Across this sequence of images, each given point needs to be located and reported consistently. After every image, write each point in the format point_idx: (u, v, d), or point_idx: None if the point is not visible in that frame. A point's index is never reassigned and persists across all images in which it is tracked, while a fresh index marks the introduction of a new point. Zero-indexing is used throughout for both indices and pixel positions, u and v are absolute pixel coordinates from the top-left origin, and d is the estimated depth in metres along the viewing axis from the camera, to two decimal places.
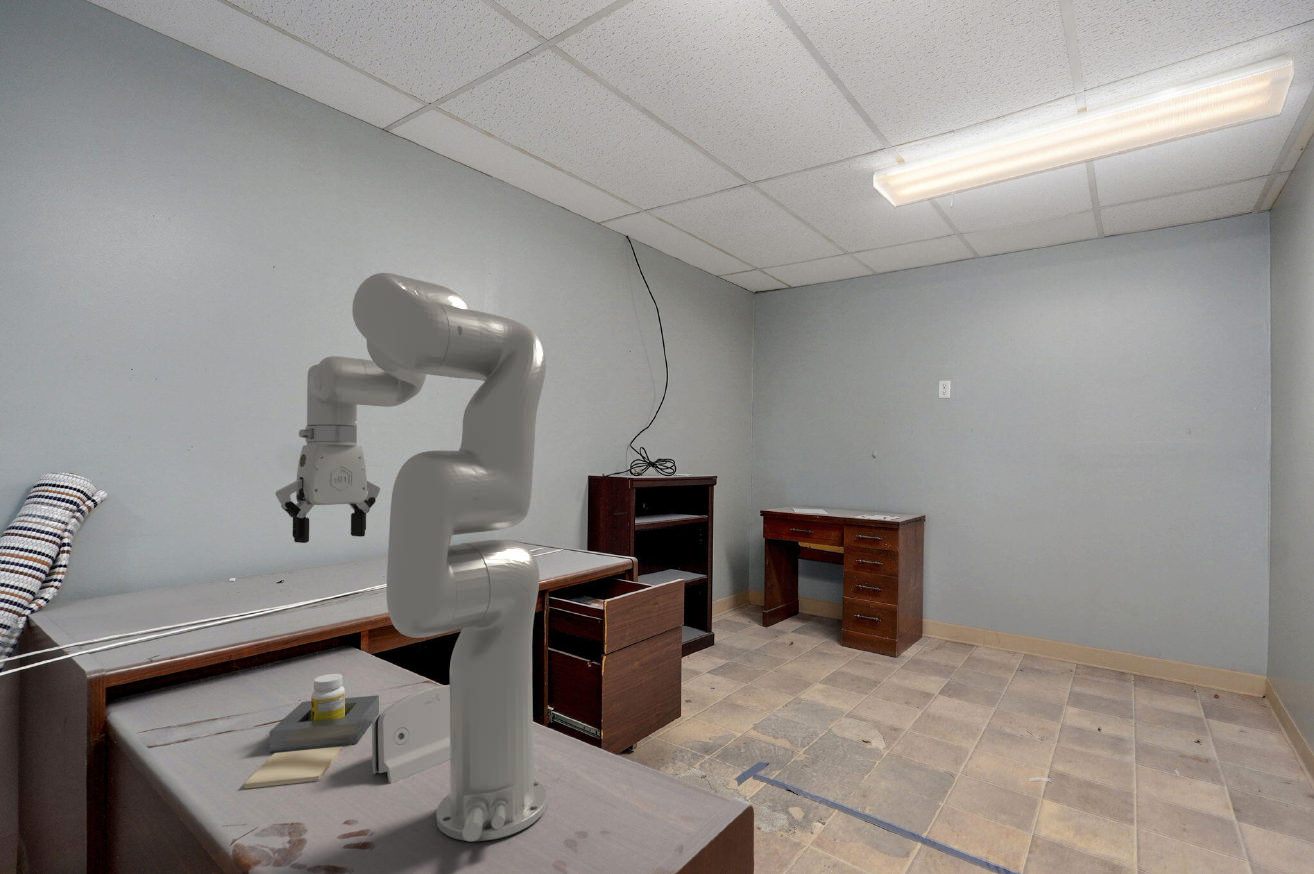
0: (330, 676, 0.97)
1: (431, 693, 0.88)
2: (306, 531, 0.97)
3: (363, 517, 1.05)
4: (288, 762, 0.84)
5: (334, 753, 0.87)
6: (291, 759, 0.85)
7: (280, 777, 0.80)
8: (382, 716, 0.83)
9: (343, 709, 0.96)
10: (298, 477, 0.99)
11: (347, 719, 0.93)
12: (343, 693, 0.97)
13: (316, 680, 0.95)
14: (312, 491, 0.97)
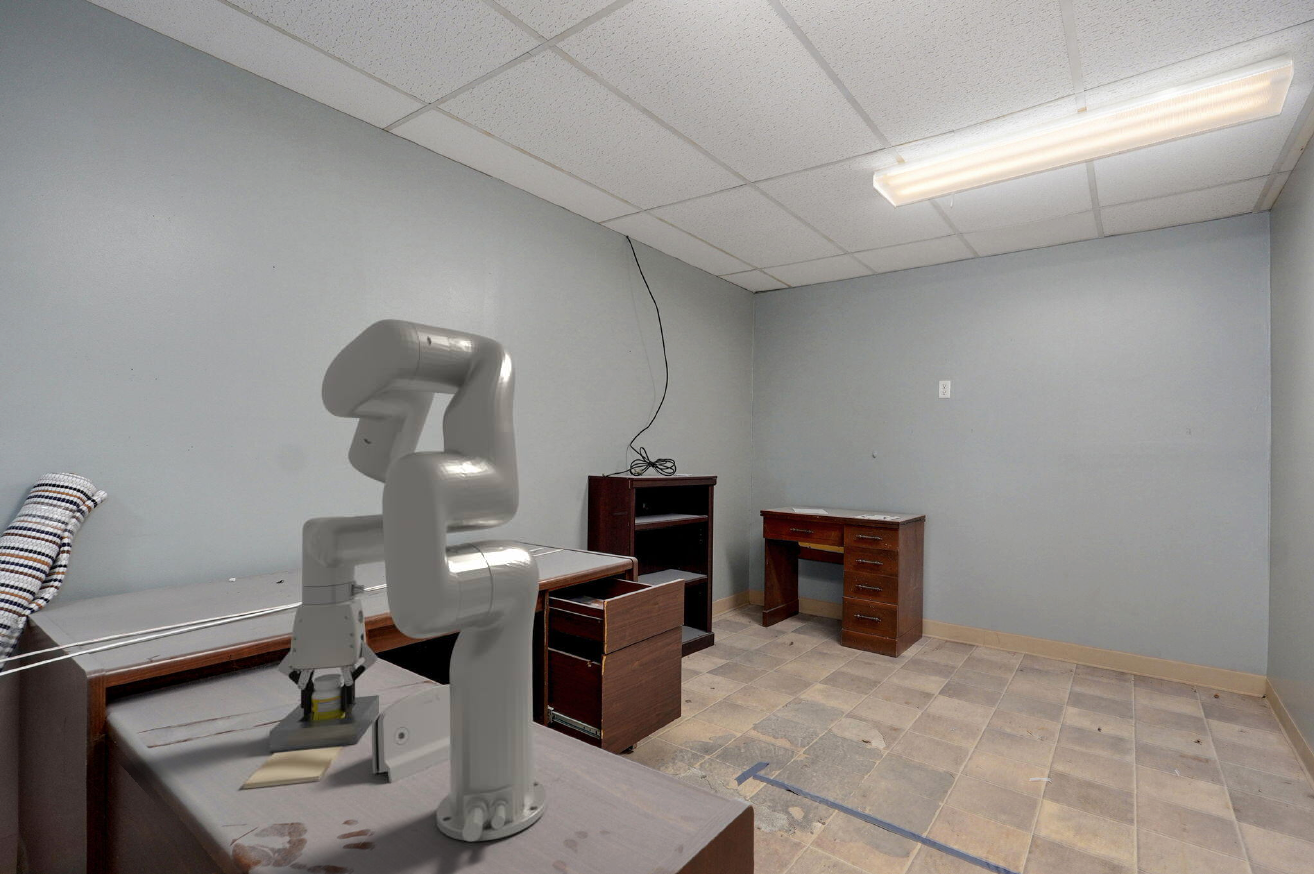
0: (330, 676, 0.97)
1: (431, 693, 0.88)
2: None
3: None
4: (288, 762, 0.84)
5: (334, 753, 0.87)
6: (291, 759, 0.85)
7: (280, 777, 0.80)
8: (382, 716, 0.83)
9: None
10: (359, 635, 0.97)
11: (347, 719, 0.93)
12: None
13: (316, 680, 0.95)
14: None
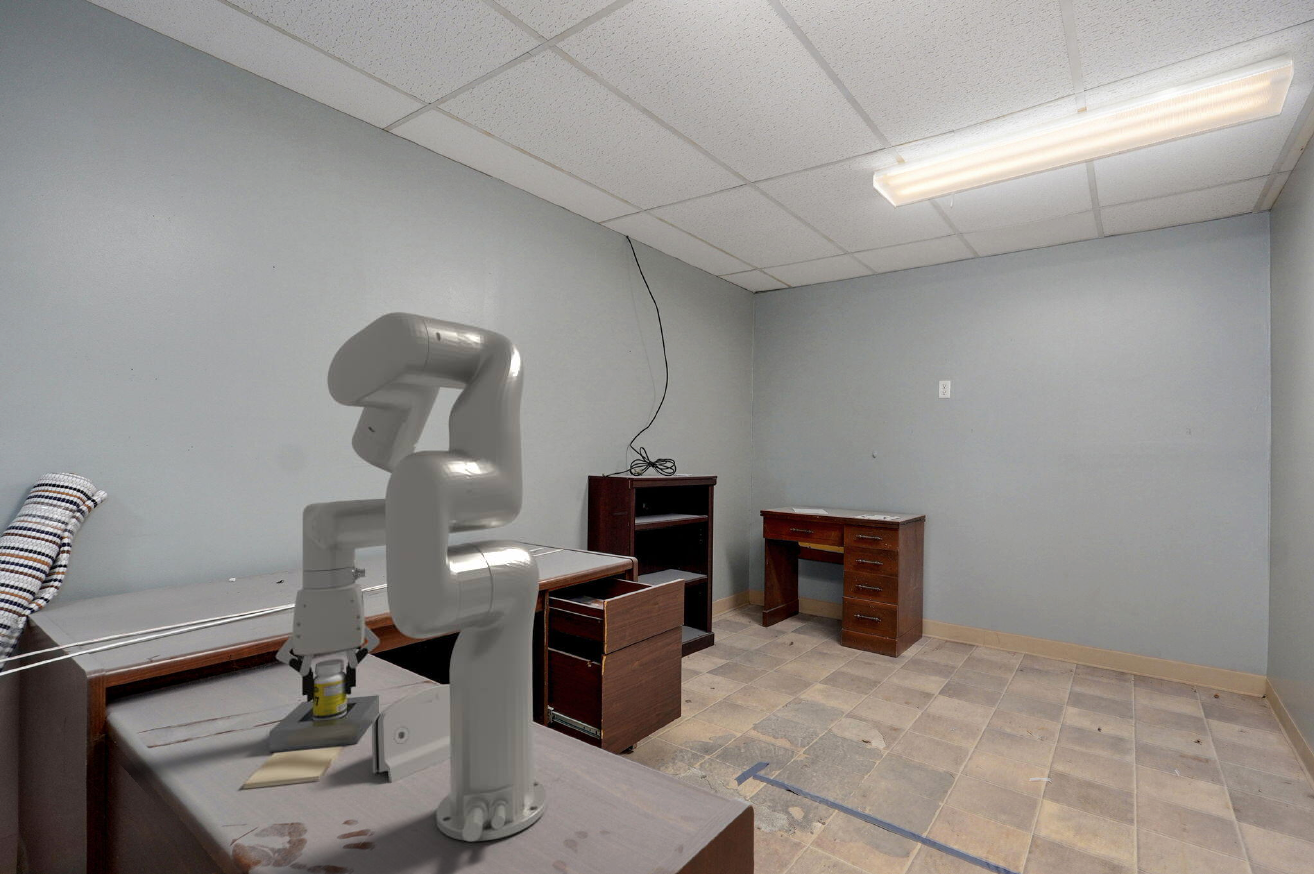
0: (330, 661, 0.97)
1: (431, 692, 0.88)
2: None
3: None
4: (288, 762, 0.84)
5: (334, 753, 0.87)
6: (291, 759, 0.85)
7: (280, 777, 0.80)
8: (382, 715, 0.83)
9: None
10: (364, 618, 0.98)
11: (347, 719, 0.93)
12: None
13: (319, 665, 0.95)
14: None
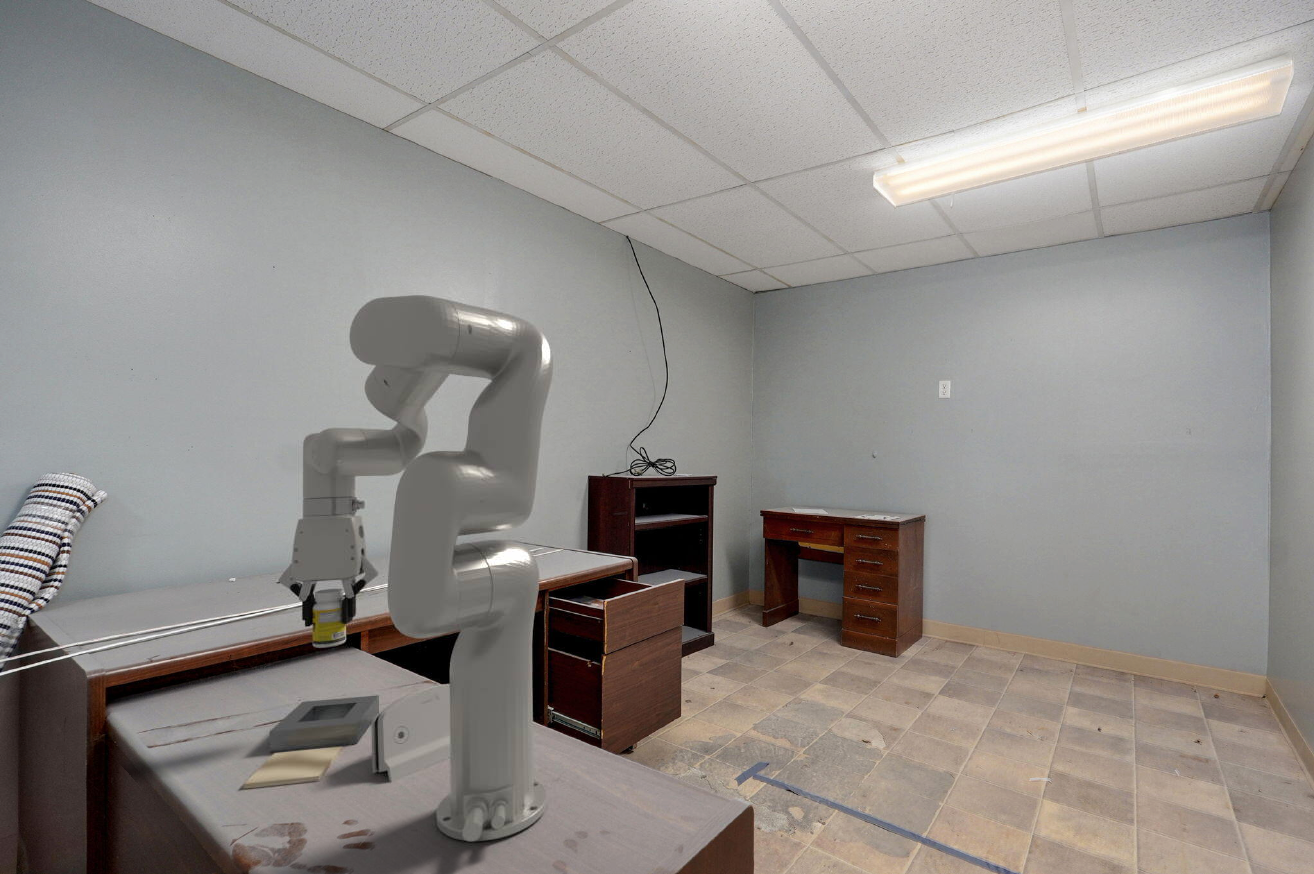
0: (331, 590, 0.98)
1: (430, 692, 0.89)
2: None
3: None
4: (288, 762, 0.84)
5: (334, 753, 0.87)
6: (291, 759, 0.85)
7: (280, 777, 0.80)
8: (382, 715, 0.83)
9: None
10: (360, 549, 0.98)
11: (347, 719, 0.93)
12: None
13: (317, 592, 0.96)
14: None
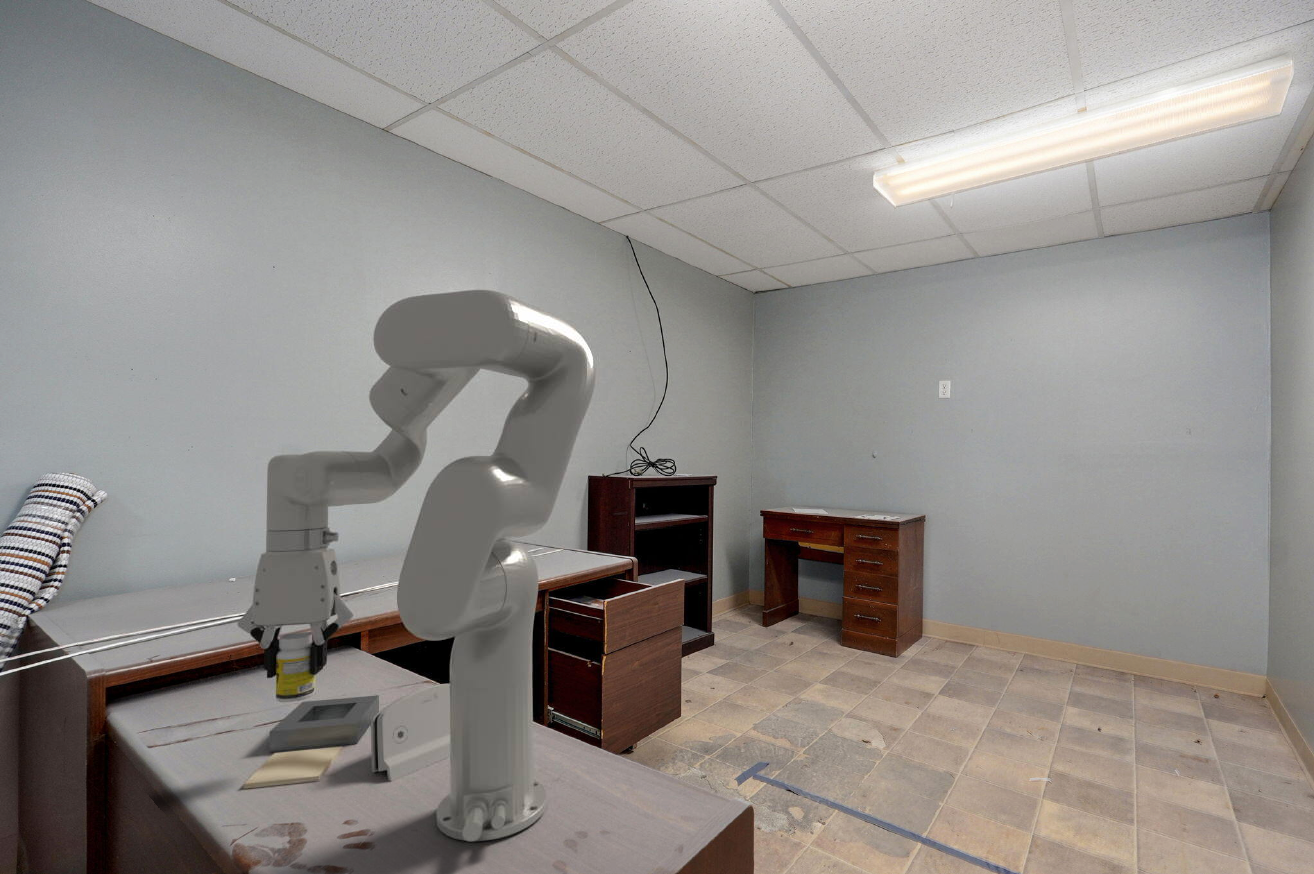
0: (298, 634, 0.86)
1: (429, 692, 0.89)
2: None
3: None
4: (288, 762, 0.84)
5: (334, 753, 0.87)
6: (291, 759, 0.85)
7: (280, 777, 0.80)
8: (381, 715, 0.83)
9: None
10: (332, 588, 0.85)
11: (347, 719, 0.93)
12: None
13: (282, 638, 0.84)
14: None
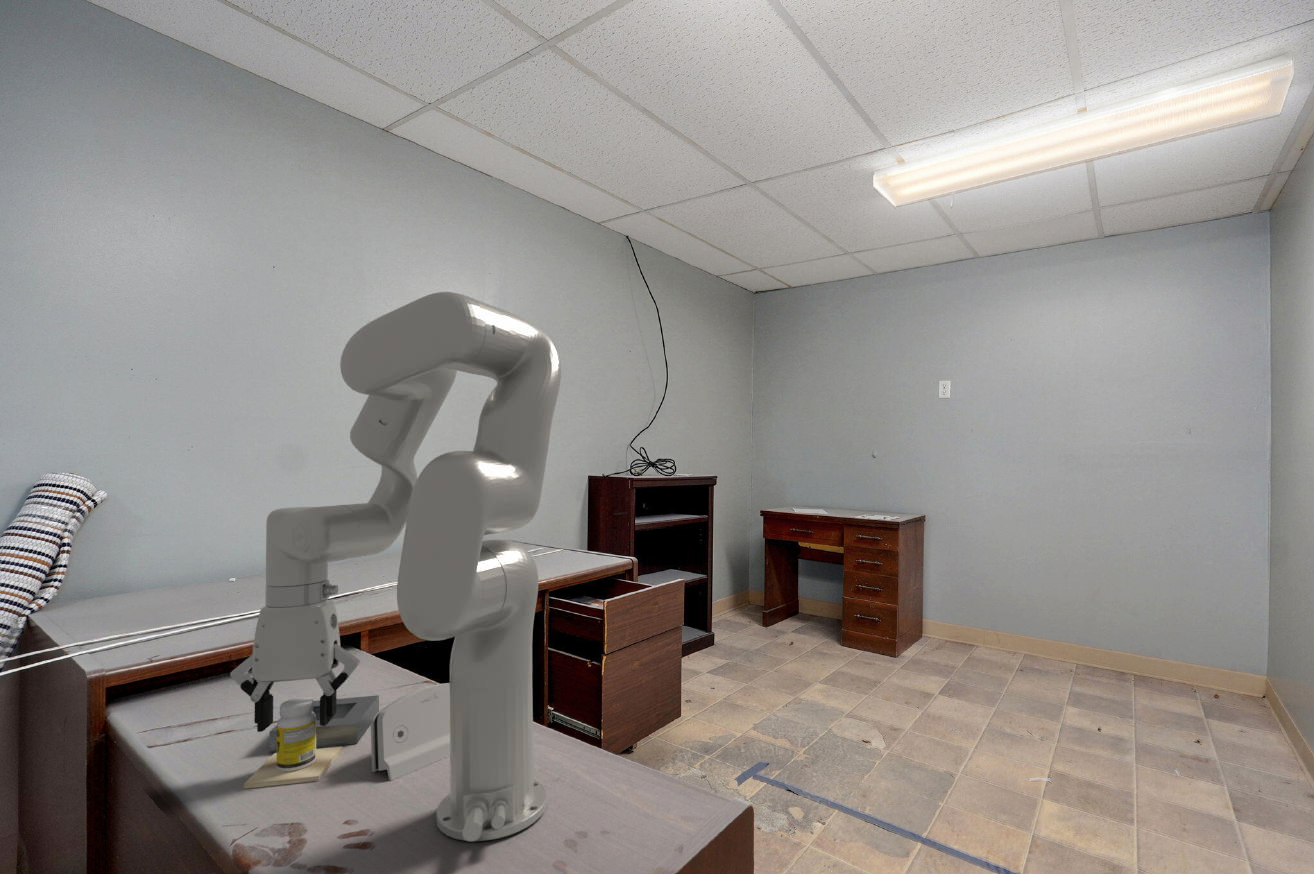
0: (299, 700, 0.85)
1: (429, 691, 0.89)
2: None
3: None
4: None
5: (334, 753, 0.87)
6: None
7: (280, 777, 0.80)
8: (381, 714, 0.83)
9: (314, 738, 0.84)
10: (332, 642, 0.85)
11: (347, 719, 0.93)
12: (314, 720, 0.84)
13: (282, 705, 0.83)
14: None
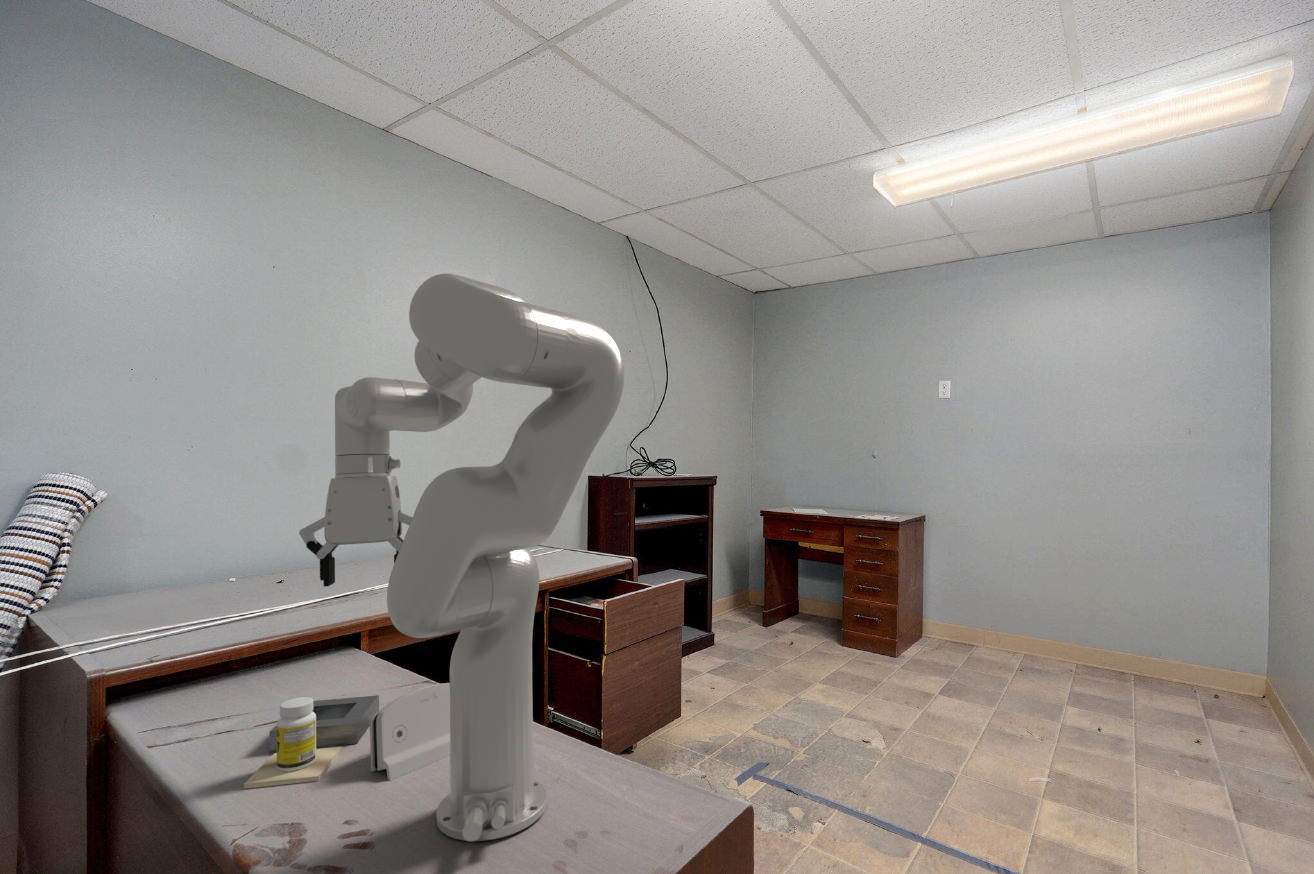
0: (299, 700, 0.85)
1: (428, 691, 0.89)
2: None
3: None
4: None
5: (334, 753, 0.87)
6: None
7: (280, 777, 0.80)
8: (380, 714, 0.83)
9: (314, 738, 0.84)
10: (397, 510, 0.92)
11: (347, 719, 0.93)
12: (314, 720, 0.84)
13: (282, 705, 0.83)
14: (400, 524, 0.95)
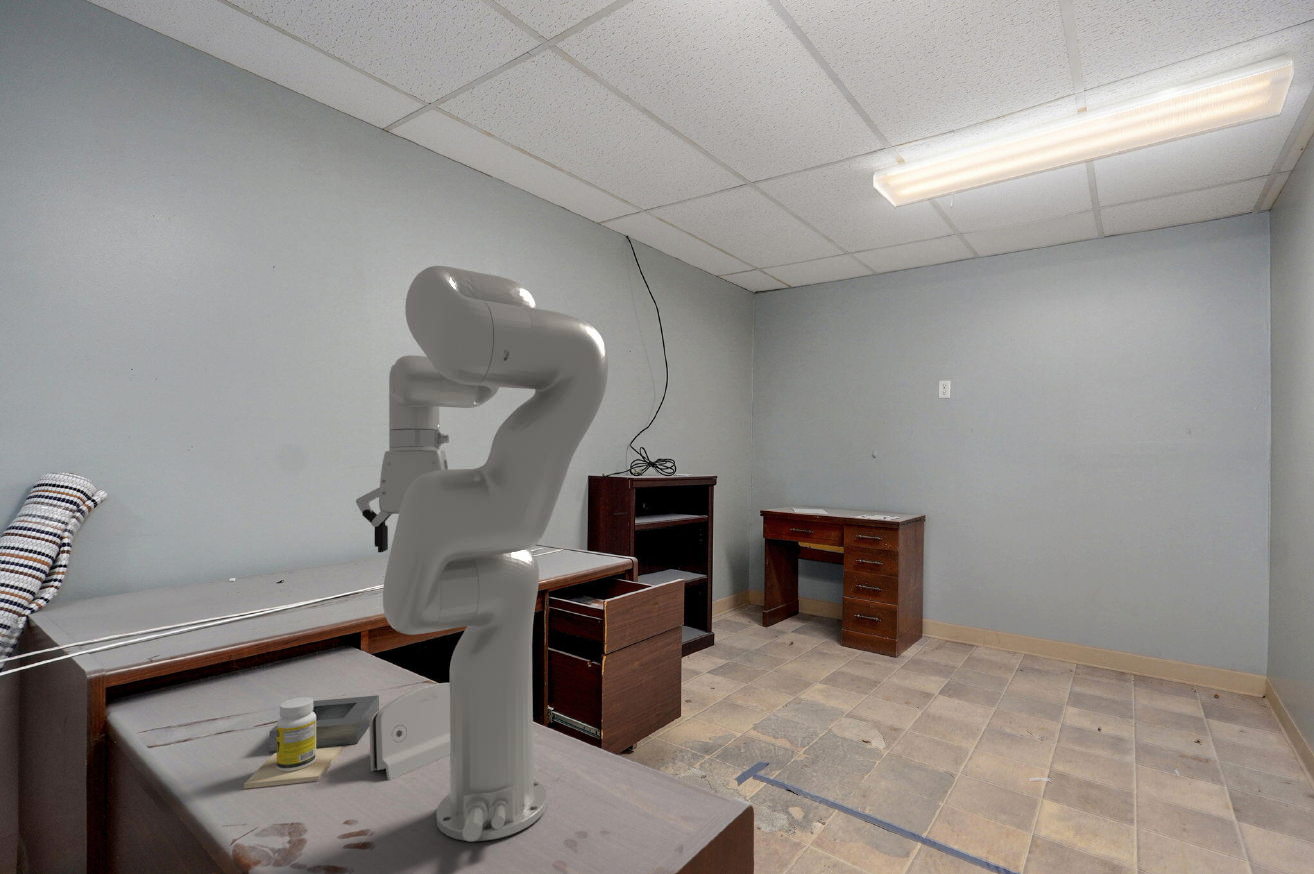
0: (299, 700, 0.85)
1: (428, 691, 0.89)
2: None
3: None
4: None
5: (334, 753, 0.87)
6: None
7: (280, 777, 0.80)
8: (380, 714, 0.84)
9: (314, 738, 0.84)
10: None
11: (347, 719, 0.93)
12: (314, 720, 0.84)
13: (282, 705, 0.83)
14: None
